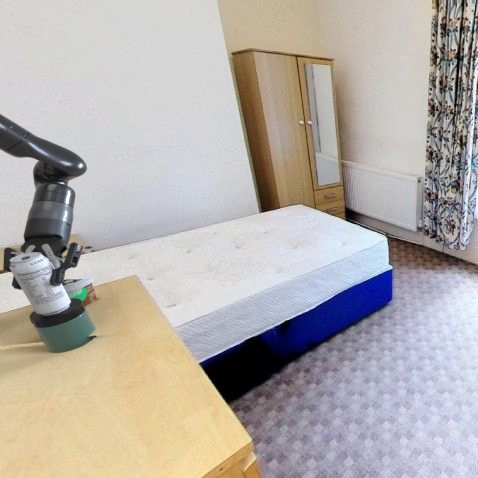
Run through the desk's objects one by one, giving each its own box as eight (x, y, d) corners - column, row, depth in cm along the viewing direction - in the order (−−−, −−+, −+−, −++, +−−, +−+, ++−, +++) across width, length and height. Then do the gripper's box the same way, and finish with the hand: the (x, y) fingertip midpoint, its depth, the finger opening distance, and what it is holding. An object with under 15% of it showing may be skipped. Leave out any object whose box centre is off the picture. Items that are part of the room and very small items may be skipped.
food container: (38, 321, 91) (20, 292, 87) (54, 308, 96) (38, 280, 92) (91, 314, 94) (77, 286, 90) (104, 302, 99) (91, 275, 95)
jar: (37, 355, 80) (18, 324, 76) (66, 330, 88) (50, 301, 84) (81, 350, 81) (65, 320, 77) (105, 326, 90) (92, 298, 86)
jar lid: (21, 328, 76) (17, 321, 76) (54, 305, 84) (51, 299, 84) (65, 325, 78) (62, 318, 77) (94, 303, 86) (91, 297, 85)
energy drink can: (72, 299, 84) (45, 248, 78) (72, 309, 80) (44, 257, 74) (38, 309, 80) (6, 256, 74) (36, 320, 76) (3, 266, 70)
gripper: (-2, 219, 76) (-20, 288, 70) (74, 214, 80) (63, 279, 75) (26, 231, 82) (12, 294, 77) (95, 226, 87) (86, 286, 81)
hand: (37, 286), depth 76 cm, fingers closed on energy drink can, 6 cm apart
